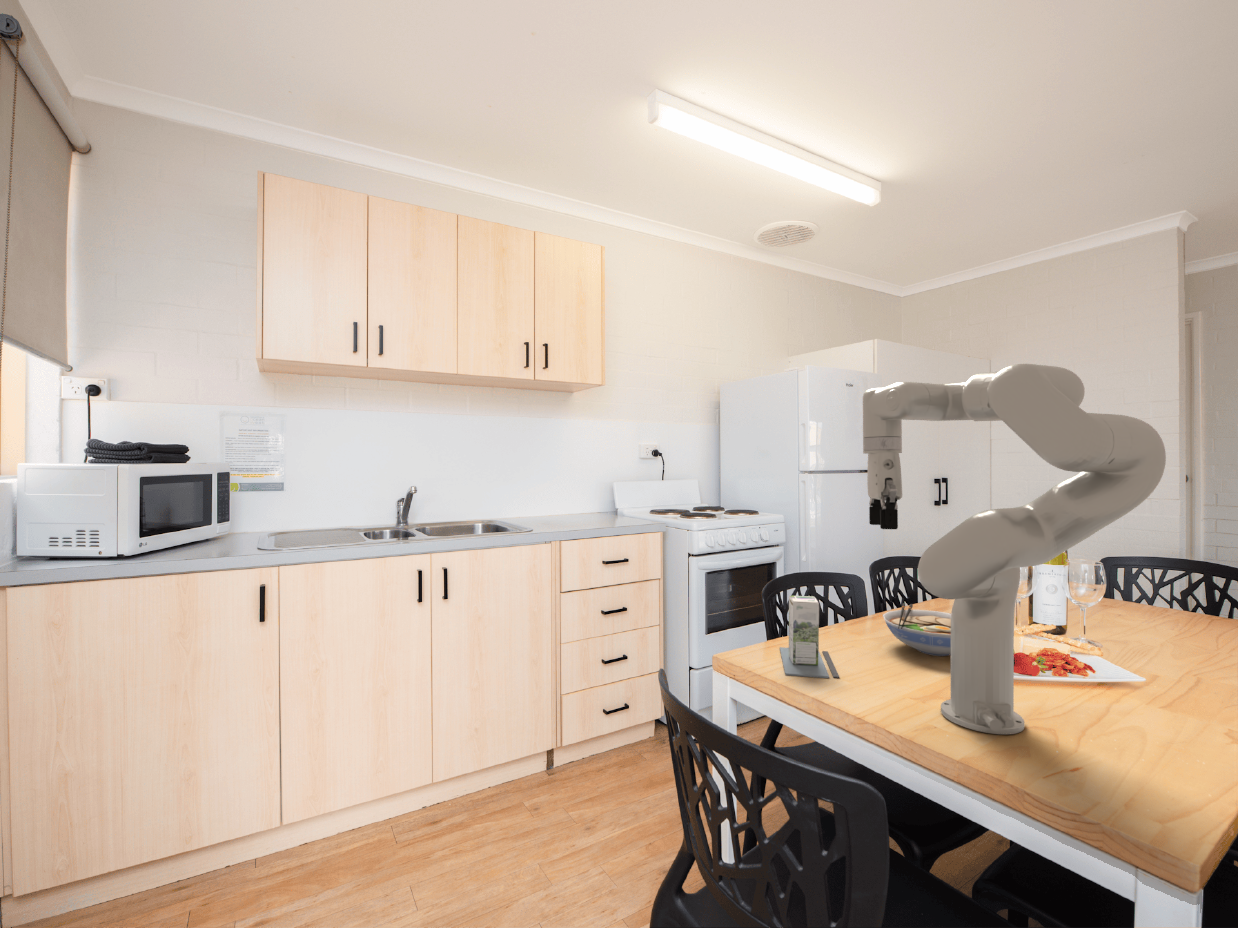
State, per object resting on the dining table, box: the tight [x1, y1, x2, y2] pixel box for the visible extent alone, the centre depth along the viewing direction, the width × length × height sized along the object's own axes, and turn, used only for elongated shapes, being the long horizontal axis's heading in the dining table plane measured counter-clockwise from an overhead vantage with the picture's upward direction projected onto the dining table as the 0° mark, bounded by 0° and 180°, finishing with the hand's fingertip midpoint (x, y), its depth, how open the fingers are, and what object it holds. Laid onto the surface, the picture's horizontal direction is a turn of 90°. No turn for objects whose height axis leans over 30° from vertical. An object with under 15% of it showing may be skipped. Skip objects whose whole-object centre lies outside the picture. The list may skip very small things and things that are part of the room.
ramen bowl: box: [882, 602, 951, 657], centre depth 140 cm, size 25×23×8 cm
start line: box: [822, 650, 840, 679], centre depth 131 cm, size 17×1×1 cm, turn 168°
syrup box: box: [788, 595, 820, 665], centre depth 131 cm, size 6×6×14 cm
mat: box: [779, 646, 830, 679], centre depth 132 cm, size 18×9×1 cm, turn 168°
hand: (883, 526), depth 123 cm, fingers open, 9 cm apart
